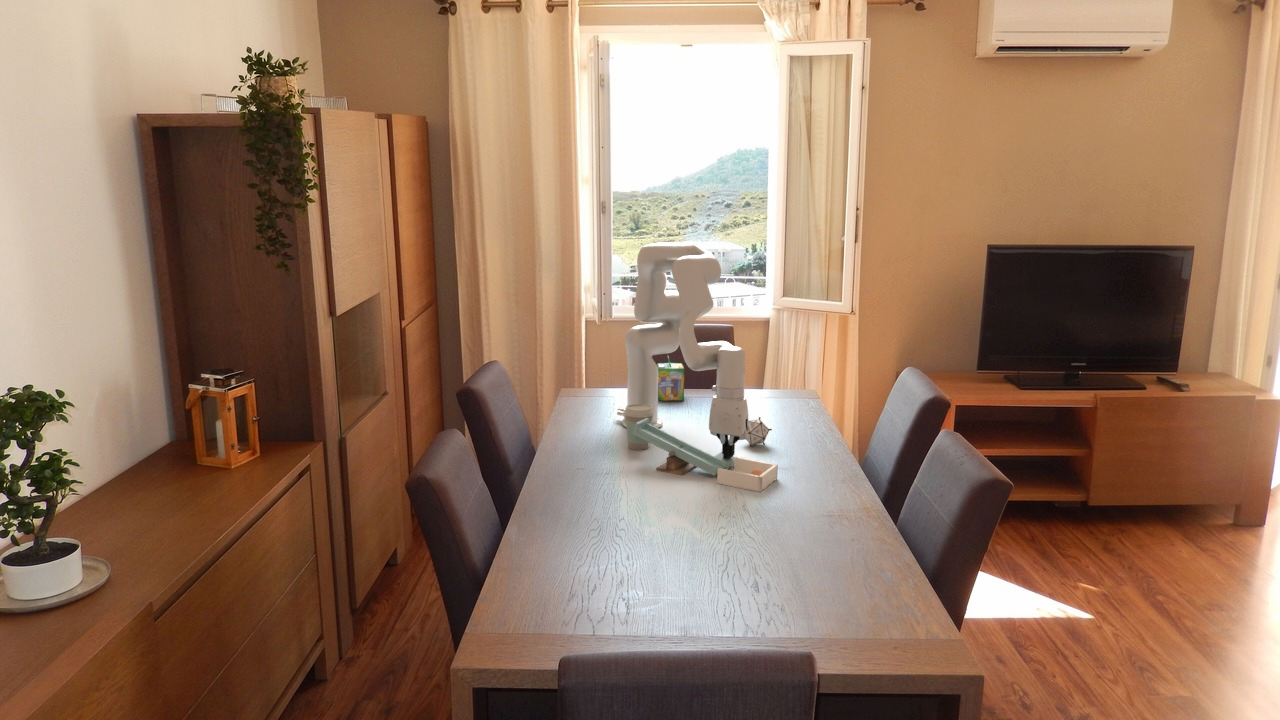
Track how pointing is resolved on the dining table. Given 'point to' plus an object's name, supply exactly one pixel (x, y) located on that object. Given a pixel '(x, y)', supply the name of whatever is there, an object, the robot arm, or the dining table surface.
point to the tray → (748, 475)
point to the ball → (757, 472)
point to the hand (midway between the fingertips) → (728, 457)
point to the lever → (681, 448)
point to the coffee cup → (633, 416)
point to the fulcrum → (675, 466)
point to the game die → (757, 432)
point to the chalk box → (670, 381)
